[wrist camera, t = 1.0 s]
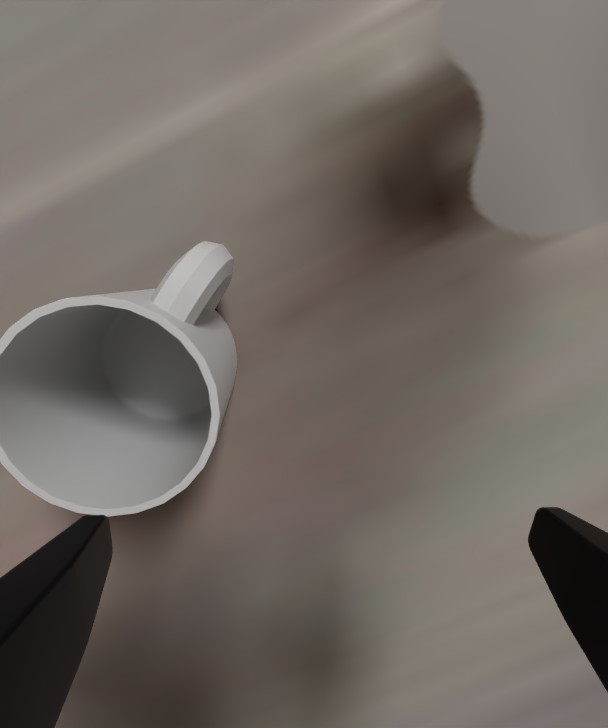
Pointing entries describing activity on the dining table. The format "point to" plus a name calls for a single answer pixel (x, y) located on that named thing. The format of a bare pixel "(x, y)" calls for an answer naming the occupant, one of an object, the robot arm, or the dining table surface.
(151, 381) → the cup
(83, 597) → the robot arm
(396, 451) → the dining table surface
